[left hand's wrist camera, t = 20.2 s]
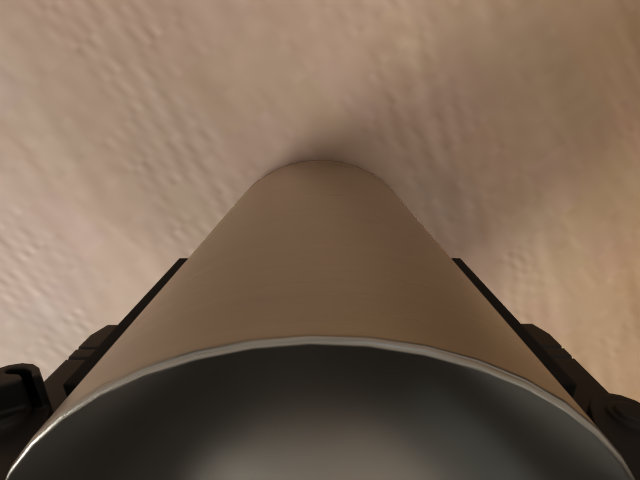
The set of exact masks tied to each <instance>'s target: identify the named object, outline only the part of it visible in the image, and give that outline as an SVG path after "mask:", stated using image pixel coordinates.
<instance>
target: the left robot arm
mask: <svg viewBox="0 0 640 480" xmlns="http://www.w3.org/2000/svg"><path fill="white" fill-rule="evenodd" d="M187 259H188V258H180V259H179V260H178V261H177V262H176V263H175V264H174V265H173V266H172V267H171V268H170V269H169V270H168V272H167V273H166V274H165V275H164V276H163V277H162V278H161V279H160V280H159V281H158V282H157V283H156V284H155V286H154V287H153V288H152V289H151V290H150V291H149V292H148V293H147V294H146V295H145V296H144V297H143V299H142V300H141V301H140V302H139V303H138V304H137V305H136V306H135V307H134V308H133V309H132V310H131V311H130V313H129V314H128V315H127V316H126V317H125V318H124V319H123V320H122V321H121V322H120V323H119V324H118V325H107V326H105V327H104V328H102V329H100V330H99V331H97V332H95V333H94V334H92V335H91V336H90V337H89V338H88V339H87V340H86V341H85V342H84V343H83V344H82V345H80V346H79V349H78V350H75V351H74V352H73V353H72V354H71V355H70V356H69V359H68V360H65V361H64V362H63V363H62V364H61V365H60V366H59V367H58V368H57V369H56V370H55V371H54V372H53V373H52V374H51V375H50V376H49V377H48V378H47V379H46V380H45V381H43V378H42V375H41V372H40V369H39V368H38V367H36V366H35V365H33V364H25V363H21V364H14V365H8V366H5V367H2V368H0V480H5V478H6V476H7V474H8V472H9V470H10V468H11V466H12V464H13V463H14V462H15V460H16V459H17V458H18V456H19V455H20V454H21V452H22V451H23V449H24V448H25V447H26V445H27V444H28V443H29V441H30V440H31V439H32V437H33V436H34V435H35V434H36V433H37V432H38V431H39V429H40V428H41V427H42V426H43V425H44V424H45V422H46V421H47V420H48V419H49V418H50V417H51V416H52V414H53V413H54V412H55V411H56V410H57V409H58V408H59V406H60V405H61V404H62V403H63V402H64V401H65V400H66V398H67V397H68V396H69V395H70V394H71V393H72V391H73V390H74V389H75V388H76V387H77V386H78V385H79V383H80V382H81V381H82V380H83V379H84V378H85V377H86V375H87V374H88V373H89V372H90V371H91V370H92V369H93V367H94V366H95V365H96V364H97V363H98V362H99V360H100V359H101V358H102V357H103V356H104V355H105V354H106V352H107V351H108V350H109V349H110V348H111V347H112V346H113V344H114V343H115V342H116V341H117V340H118V339H119V337H120V336H121V335H122V334H123V333H124V332H125V331H126V329H127V328H128V327H129V326H130V325H131V324H132V323H133V321H134V320H135V319H136V318H137V317H138V316H139V315H140V313H141V312H142V311H143V310H144V309H145V308H146V306H147V305H148V304H149V303H150V302H151V301H152V300H153V298H154V297H155V296H156V295H157V294H158V293H159V292H160V290H161V289H162V288H163V287H164V286H165V285H166V284H167V282H168V281H169V280H170V279H171V278H172V277H173V275H174V274H175V273H176V272H177V271H178V270H179V269H180V267H181V266H182V265H183V264H184V263H185V262H186V261H187ZM451 259H452V260H453V261H454V262H455V264H456V265H457V266H458V267H459V268H460V269H461V270H462V272H463V273H464V274H465V275H466V276H467V277H468V279H469V280H470V281H471V282H472V283H473V284H474V285H475V287H476V288H477V289H478V290H479V291H480V292H481V294H482V295H483V296H484V297H485V298H486V299H487V300H488V302H489V303H490V304H491V305H492V306H493V307H494V309H495V310H496V311H497V312H498V313H499V314H500V315H501V317H502V318H503V319H504V320H505V321H506V322H507V323H508V325H509V326H510V327H511V328H512V329H513V330H514V332H515V333H516V334H517V335H518V336H519V337H520V338H521V340H522V341H523V342H524V343H525V344H526V345H527V347H528V348H529V349H530V350H531V351H532V352H533V353H534V355H535V356H536V357H537V358H538V359H539V360H540V362H541V363H542V364H543V365H544V366H545V367H546V368H547V370H548V371H549V372H550V373H551V374H552V375H553V377H554V378H555V379H556V380H557V381H558V382H559V383H560V385H561V386H562V387H563V388H564V389H565V390H566V391H567V393H568V394H569V395H570V396H571V397H572V398H573V400H574V401H575V402H576V403H577V404H578V405H579V406H580V408H581V409H582V410H583V411H584V412H585V413H586V415H587V416H588V417H589V418H590V419H591V420H592V421H593V423H594V424H595V425H596V426H597V427H598V428H599V430H600V431H601V432H602V433H603V434H604V435H605V437H606V438H607V439H608V440H609V441H610V442H611V444H612V445H613V446H614V447H615V448H616V449H617V451H618V452H619V453H620V454H621V455H622V457H623V459H624V460H625V462H626V464H627V466H628V468H629V469H630V471H631V473H632V475H633V476H634V478H635V480H640V403H639V402H637V401H635V400H632V399H630V398H627V397H624V396H621V395H616V394H611V393H608V392H607V391H606V390H605V389H604V388H603V387H602V386H601V385H600V384H599V383H598V382H597V381H596V380H595V379H594V378H593V377H592V376H591V375H590V374H589V373H588V372H587V371H586V370H585V369H584V368H583V367H582V366H581V365H580V364H579V363H578V362H577V361H576V360H575V359H572V357H571V355H570V354H569V353H568V352H567V351H566V350H565V349H564V348H561V345H560V344H559V343H558V342H557V341H556V340H555V339H554V338H553V337H552V336H551V335H550V334H548V333H547V332H545V331H543V330H542V329H540V328H538V327H537V326H535V325H533V324H520V323H519V321H518V320H517V319H516V318H515V317H514V316H513V315H512V314H511V313H510V312H509V311H508V310H507V308H506V307H505V306H504V305H503V304H502V303H501V302H500V301H499V300H498V299H497V298H496V297H495V296H494V294H493V293H492V292H491V291H490V290H489V289H488V288H487V287H486V286H485V285H484V284H483V283H482V281H481V280H480V279H479V278H478V277H477V276H476V275H475V274H474V273H473V272H472V271H471V270H470V269H469V267H468V266H467V265H466V264H465V263H464V262H463V261H462V260H461V259H460V258H451Z"/></svg>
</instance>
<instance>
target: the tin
mask: <svg viewBox="0 0 640 480" xmlns="http://www.w3.org/2000/svg"><path fill="white" fill-rule="evenodd" d="M5 480H635V478H634V476H633V475H632V473H631V471H630V469H629V468H628V466H627V464H626V462H625V460H624V459H623V457H622V455H621V454H620V453H619V452H618V451H617V449H616V448H615V447H614V446H613V445H612V444H611V442H610V441H609V440H608V439H607V438H606V437H605V435H604V434H603V433H602V432H601V431H600V430H599V428H598V427H597V426H596V425H595V424H594V423H593V421H592V420H591V419H590V418H589V417H588V416H587V415H586V413H585V412H584V411H583V410H582V409H581V408H580V406H579V405H578V404H577V403H576V402H575V401H574V400H573V398H572V397H571V396H570V395H569V394H568V393H567V391H566V390H565V389H564V388H563V387H562V386H561V385H560V383H559V382H558V381H557V380H556V379H555V378H554V377H553V375H552V374H551V373H550V372H549V371H548V370H547V368H546V367H545V366H544V365H543V364H542V363H541V362H540V360H539V359H538V358H537V357H536V356H535V355H534V353H533V352H532V351H531V350H530V349H529V348H528V347H527V345H526V344H525V343H524V342H523V341H522V340H521V338H520V337H519V336H518V335H517V334H516V333H515V332H514V330H513V329H512V328H511V327H510V326H509V325H508V323H507V322H506V321H505V320H504V319H503V318H502V317H501V315H500V314H499V313H498V312H497V311H496V310H495V309H494V307H493V306H492V305H491V304H490V303H489V302H488V300H487V299H486V298H485V297H484V296H483V295H482V294H481V292H480V291H479V290H478V289H477V288H476V287H475V285H474V284H473V283H472V282H471V281H470V280H469V279H468V277H467V276H466V275H465V274H464V273H463V272H462V270H461V269H460V268H459V267H458V266H457V265H456V264H455V262H454V261H453V260H452V259H451V258H450V257H449V255H448V254H447V253H446V252H445V251H444V250H443V249H442V247H441V246H440V245H439V244H438V243H437V242H436V241H435V239H434V238H433V237H432V236H431V235H430V234H429V232H428V231H427V230H426V229H425V228H424V227H423V226H422V224H421V223H420V222H419V221H418V220H417V219H416V217H415V216H414V215H413V214H412V213H411V212H410V211H409V209H408V208H407V207H406V206H405V205H404V204H403V202H402V201H401V200H400V199H399V198H398V197H397V196H396V194H395V193H394V192H393V191H392V190H391V189H390V188H389V187H388V186H387V185H386V184H385V183H383V182H382V181H381V180H380V179H378V178H377V177H375V176H374V175H372V174H371V173H369V172H367V171H364V170H362V169H360V168H358V167H355V166H352V165H349V164H346V163H341V162H336V161H326V160H314V161H303V162H299V163H294V164H290V165H288V166H285V167H282V168H279V169H277V170H275V171H273V172H272V173H270V174H268V175H266V176H265V177H263V178H262V179H260V180H259V181H258V182H256V183H255V184H254V185H253V186H252V187H251V188H250V189H249V190H248V191H247V192H246V193H245V194H244V195H243V196H242V197H241V199H240V200H239V201H238V202H237V203H236V204H235V205H234V207H233V208H232V209H231V210H230V211H229V212H228V213H227V215H226V216H225V217H224V218H223V219H222V220H221V222H220V223H219V224H218V225H217V226H216V227H215V228H214V230H213V231H212V232H211V233H210V234H209V235H208V236H207V238H206V239H205V240H204V241H203V242H202V243H201V244H200V246H199V247H198V248H197V249H196V250H195V251H194V253H193V254H192V255H191V256H190V257H189V258H188V259H187V261H186V262H185V263H184V264H183V265H182V266H181V267H180V269H179V270H178V271H177V272H176V273H175V274H174V275H173V277H172V278H171V279H170V280H169V281H168V282H167V284H166V285H165V286H164V287H163V288H162V289H161V290H160V292H159V293H158V294H157V295H156V296H155V297H154V298H153V300H152V301H151V302H150V303H149V304H148V305H147V306H146V308H145V309H144V310H143V311H142V312H141V313H140V315H139V316H138V317H137V318H136V319H135V320H134V321H133V323H132V324H131V325H130V326H129V327H128V328H127V329H126V331H125V332H124V333H123V334H122V335H121V336H120V337H119V339H118V340H117V341H116V342H115V343H114V344H113V346H112V347H111V348H110V349H109V350H108V351H107V352H106V354H105V355H104V356H103V357H102V358H101V359H100V360H99V362H98V363H97V364H96V365H95V366H94V367H93V369H92V370H91V371H90V372H89V373H88V374H87V375H86V377H85V378H84V379H83V380H82V381H81V382H80V383H79V385H78V386H77V387H76V388H75V389H74V390H73V391H72V393H71V394H70V395H69V396H68V397H67V398H66V400H65V401H64V402H63V403H62V404H61V405H60V406H59V408H58V409H57V410H56V411H55V412H54V413H53V414H52V416H51V417H50V418H49V419H48V420H47V421H46V422H45V424H44V425H43V426H42V427H41V428H40V429H39V431H38V432H37V433H36V434H35V435H34V436H33V437H32V439H31V440H30V441H29V443H28V444H27V445H26V447H25V448H24V449H23V451H22V452H21V454H20V455H19V456H18V458H17V459H16V460H15V462H14V463H13V464H12V466H11V468H10V470H9V472H8V474H7V476H6V478H5Z"/></svg>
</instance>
